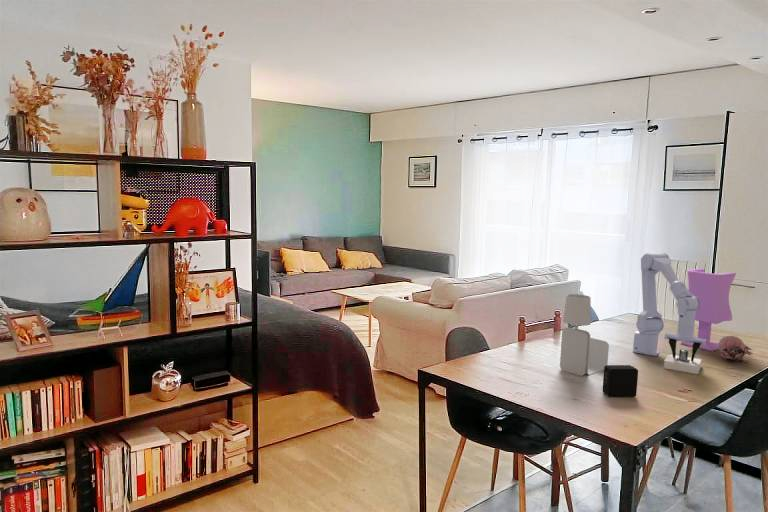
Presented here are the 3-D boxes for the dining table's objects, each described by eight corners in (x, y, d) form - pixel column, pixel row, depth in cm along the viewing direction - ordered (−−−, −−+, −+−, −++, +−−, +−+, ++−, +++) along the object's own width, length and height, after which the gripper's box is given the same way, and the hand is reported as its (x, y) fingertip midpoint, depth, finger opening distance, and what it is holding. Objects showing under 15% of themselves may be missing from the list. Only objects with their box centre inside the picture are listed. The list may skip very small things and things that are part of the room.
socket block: (663, 367, 218) (664, 360, 217) (667, 360, 227) (668, 353, 227) (698, 374, 211) (698, 366, 210) (700, 366, 221) (701, 359, 220)
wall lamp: (607, 368, 216) (612, 293, 212) (579, 379, 202) (584, 299, 198) (582, 361, 223) (587, 289, 220) (554, 371, 210) (559, 295, 206)
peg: (677, 367, 219) (678, 350, 218) (679, 365, 221) (680, 348, 220) (685, 368, 217) (687, 351, 216) (687, 367, 219) (688, 350, 219)
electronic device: (602, 393, 188) (604, 365, 187) (629, 392, 189) (631, 365, 187) (608, 397, 184) (610, 369, 182) (636, 397, 184) (638, 368, 183)
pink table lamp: (729, 347, 251) (736, 272, 247) (712, 352, 242) (720, 274, 238) (694, 339, 264) (700, 268, 260) (677, 343, 255) (684, 270, 251)
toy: (760, 365, 219) (750, 353, 233) (753, 340, 219) (744, 330, 233) (727, 370, 224) (719, 358, 238) (720, 345, 224) (713, 335, 237)
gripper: (664, 325, 218) (661, 357, 220) (706, 331, 210) (702, 365, 211) (667, 322, 224) (664, 354, 225) (707, 327, 216) (704, 360, 217)
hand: (683, 359), depth 219 cm, fingers open, 6 cm apart
